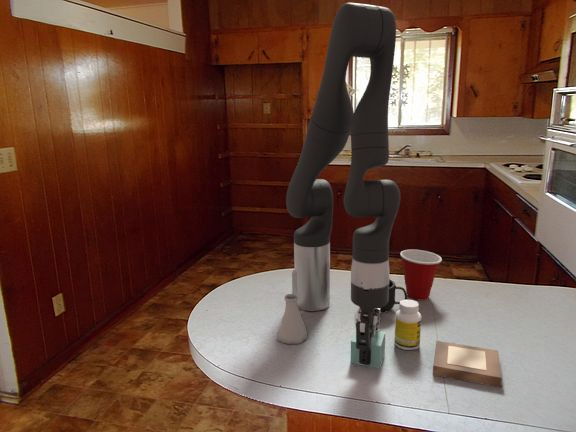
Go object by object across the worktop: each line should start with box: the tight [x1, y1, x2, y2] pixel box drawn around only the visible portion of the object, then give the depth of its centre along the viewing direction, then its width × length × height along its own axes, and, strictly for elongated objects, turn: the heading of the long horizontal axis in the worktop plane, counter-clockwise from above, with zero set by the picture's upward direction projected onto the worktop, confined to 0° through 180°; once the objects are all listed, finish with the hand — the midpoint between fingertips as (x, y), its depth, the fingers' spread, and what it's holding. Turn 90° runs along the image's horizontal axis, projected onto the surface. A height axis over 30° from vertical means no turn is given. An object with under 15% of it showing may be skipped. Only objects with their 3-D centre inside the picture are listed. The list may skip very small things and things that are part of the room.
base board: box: [432, 340, 503, 388], centre depth 89 cm, size 12×10×2 cm
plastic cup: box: [400, 249, 443, 301], centre depth 121 cm, size 11×11×12 cm
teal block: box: [350, 330, 386, 369], centre depth 93 cm, size 6×6×5 cm
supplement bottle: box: [393, 299, 422, 351], centre depth 97 cm, size 5×5×10 cm
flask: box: [276, 293, 308, 345], centre depth 101 cm, size 7×7×10 cm
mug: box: [380, 278, 408, 314], centre depth 114 cm, size 12×9×7 cm
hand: (368, 354), depth 93 cm, fingers open, 6 cm apart
